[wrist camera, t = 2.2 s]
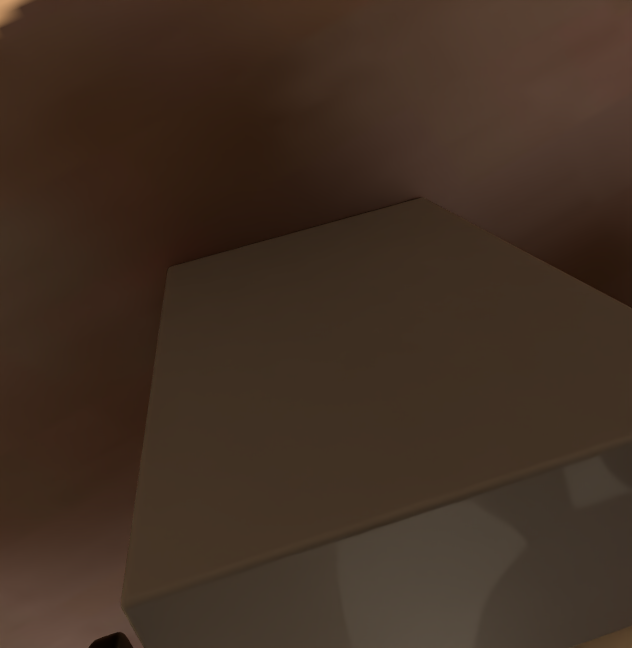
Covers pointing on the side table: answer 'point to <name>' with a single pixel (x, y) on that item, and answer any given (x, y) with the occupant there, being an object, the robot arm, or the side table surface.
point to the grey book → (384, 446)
